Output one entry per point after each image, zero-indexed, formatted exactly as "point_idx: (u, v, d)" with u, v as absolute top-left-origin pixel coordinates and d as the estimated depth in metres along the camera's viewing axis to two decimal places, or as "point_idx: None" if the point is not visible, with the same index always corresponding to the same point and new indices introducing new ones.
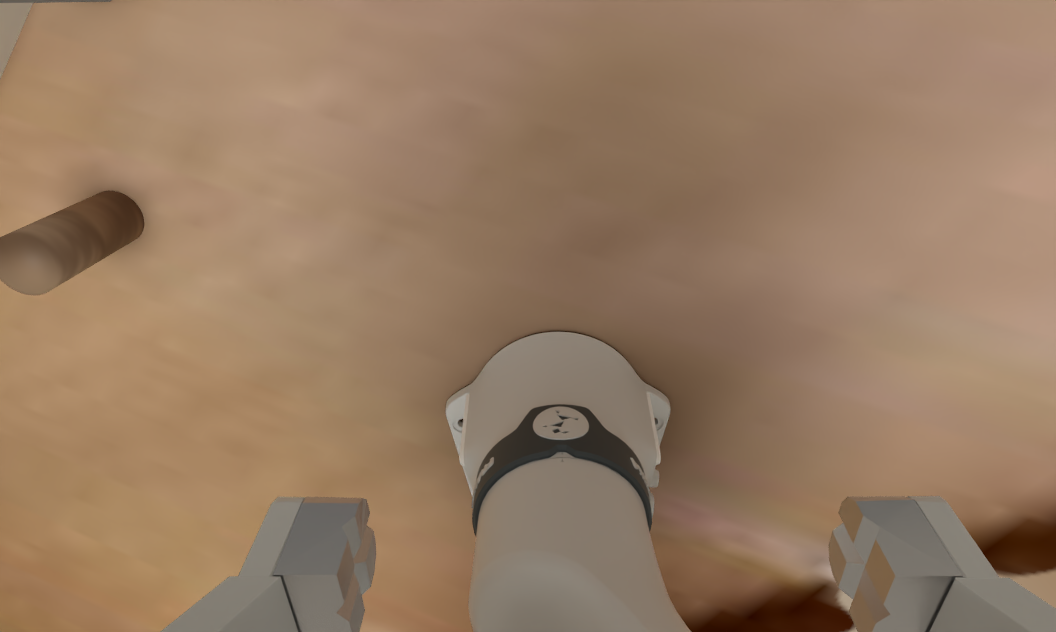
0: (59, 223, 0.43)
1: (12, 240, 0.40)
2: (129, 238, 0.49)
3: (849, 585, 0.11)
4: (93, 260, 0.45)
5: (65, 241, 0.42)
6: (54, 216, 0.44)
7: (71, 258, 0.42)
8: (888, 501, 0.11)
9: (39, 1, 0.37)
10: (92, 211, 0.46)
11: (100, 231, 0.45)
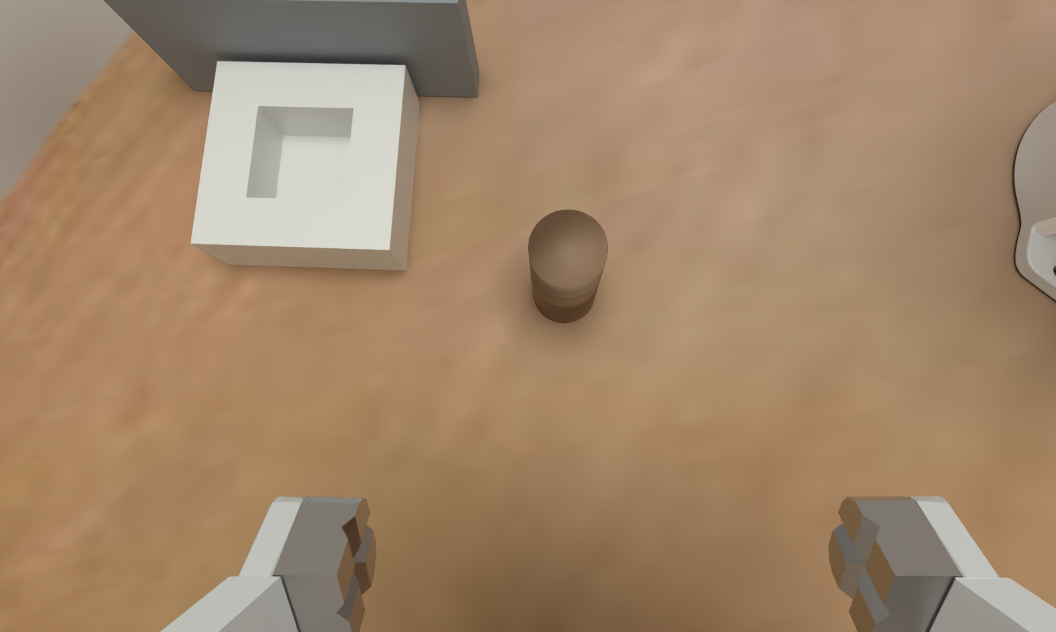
0: None
1: (546, 225, 0.34)
2: None
3: (849, 585, 0.11)
4: None
5: None
6: None
7: None
8: (888, 501, 0.11)
9: (465, 36, 0.39)
10: None
11: None
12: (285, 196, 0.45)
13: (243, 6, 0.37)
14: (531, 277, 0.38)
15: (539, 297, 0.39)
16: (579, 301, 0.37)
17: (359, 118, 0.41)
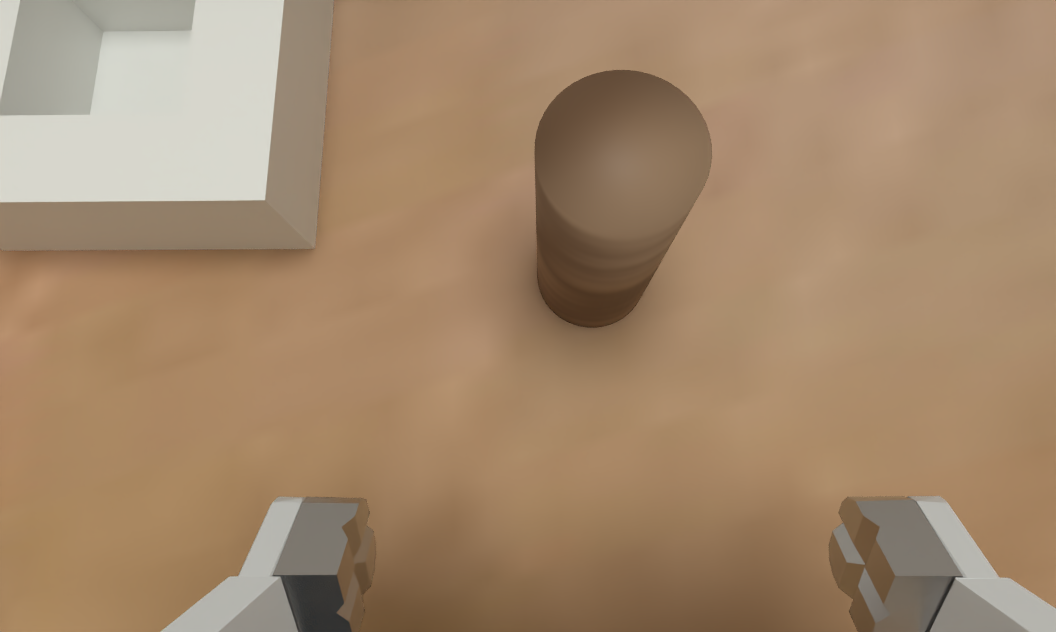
0: None
1: (571, 103, 0.15)
2: None
3: (849, 585, 0.11)
4: None
5: None
6: None
7: None
8: (888, 501, 0.11)
9: None
10: None
11: None
12: None
13: None
14: (538, 237, 0.20)
15: (553, 277, 0.20)
16: (636, 278, 0.19)
17: None
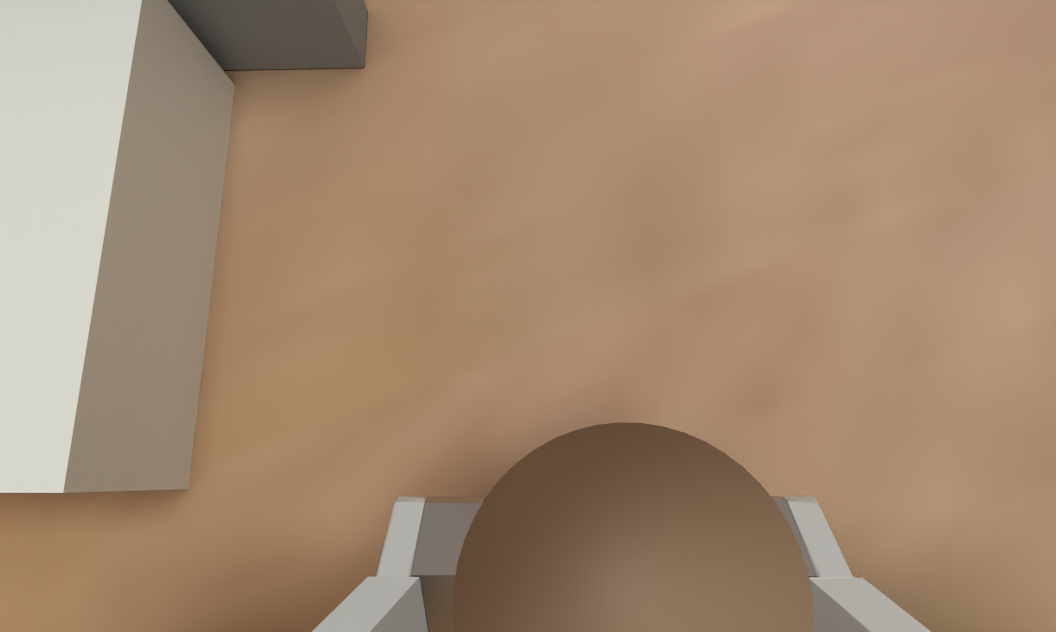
0: None
1: (528, 496, 0.08)
2: None
3: None
4: None
5: None
6: None
7: None
8: None
9: None
10: None
11: None
12: None
13: None
14: None
15: None
16: None
17: (13, 113, 0.15)
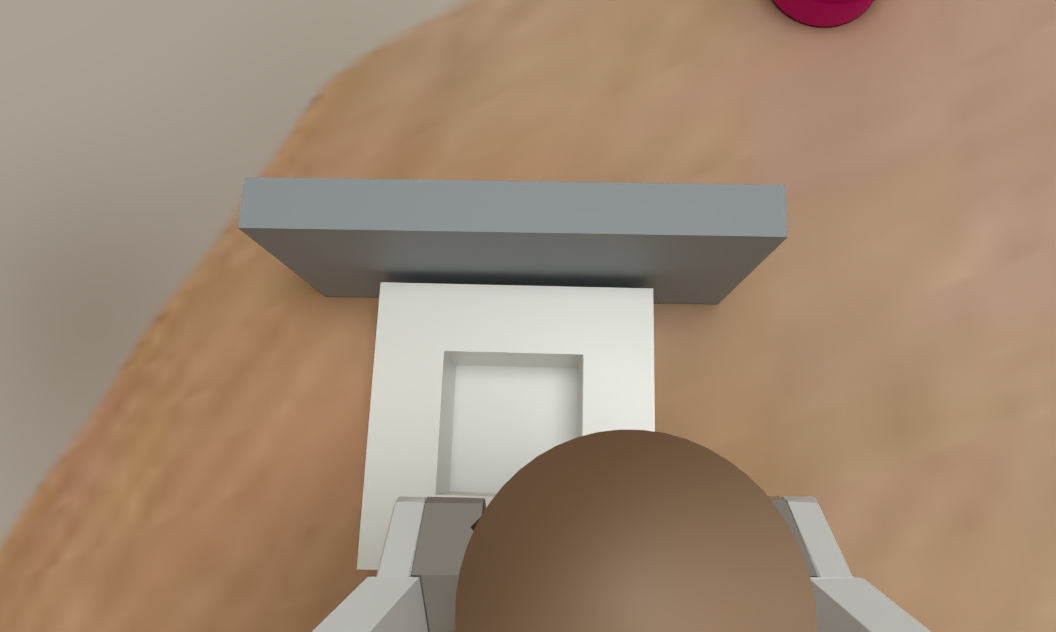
0: None
1: (531, 503, 0.08)
2: None
3: None
4: None
5: None
6: None
7: None
8: None
9: (760, 261, 0.27)
10: None
11: None
12: (464, 456, 0.32)
13: (452, 236, 0.25)
14: None
15: None
16: None
17: (593, 370, 0.28)
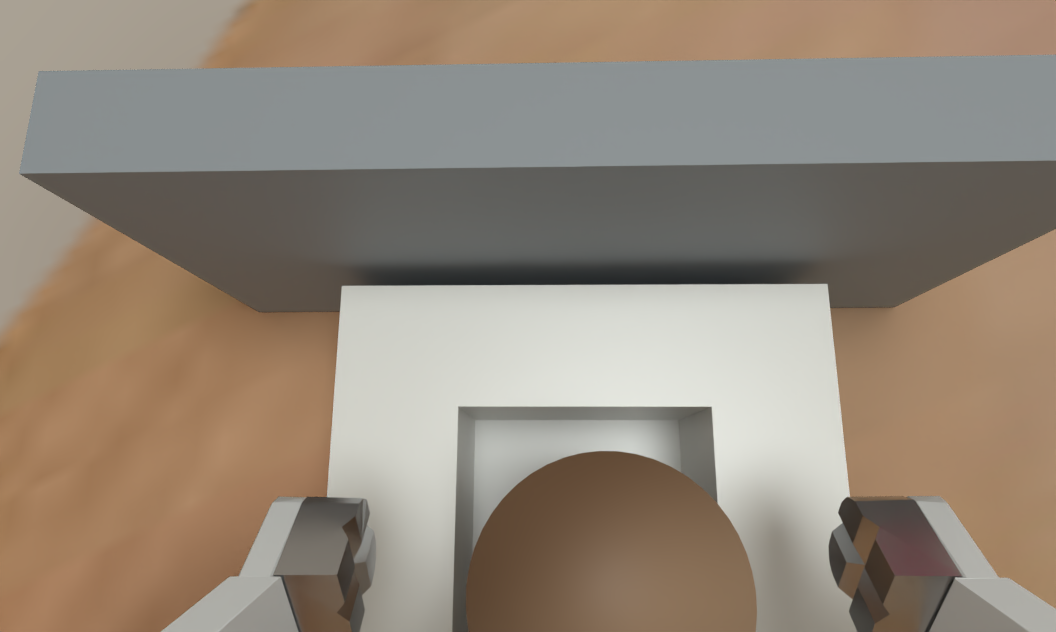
0: None
1: (526, 511, 0.10)
2: None
3: (849, 585, 0.11)
4: None
5: None
6: None
7: None
8: (887, 501, 0.11)
9: None
10: None
11: None
12: None
13: (474, 182, 0.12)
14: None
15: None
16: None
17: (732, 435, 0.16)
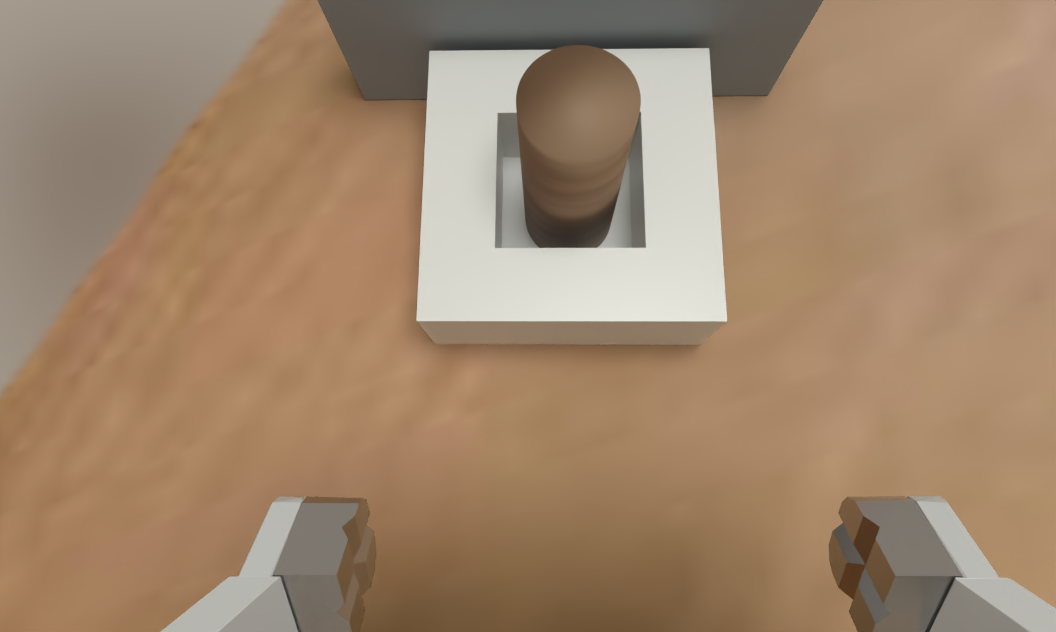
0: None
1: (542, 68, 0.22)
2: None
3: (849, 585, 0.11)
4: None
5: None
6: None
7: None
8: (888, 501, 0.11)
9: None
10: None
11: None
12: (515, 243, 0.31)
13: None
14: (522, 176, 0.26)
15: (535, 209, 0.27)
16: (595, 204, 0.25)
17: (652, 126, 0.28)
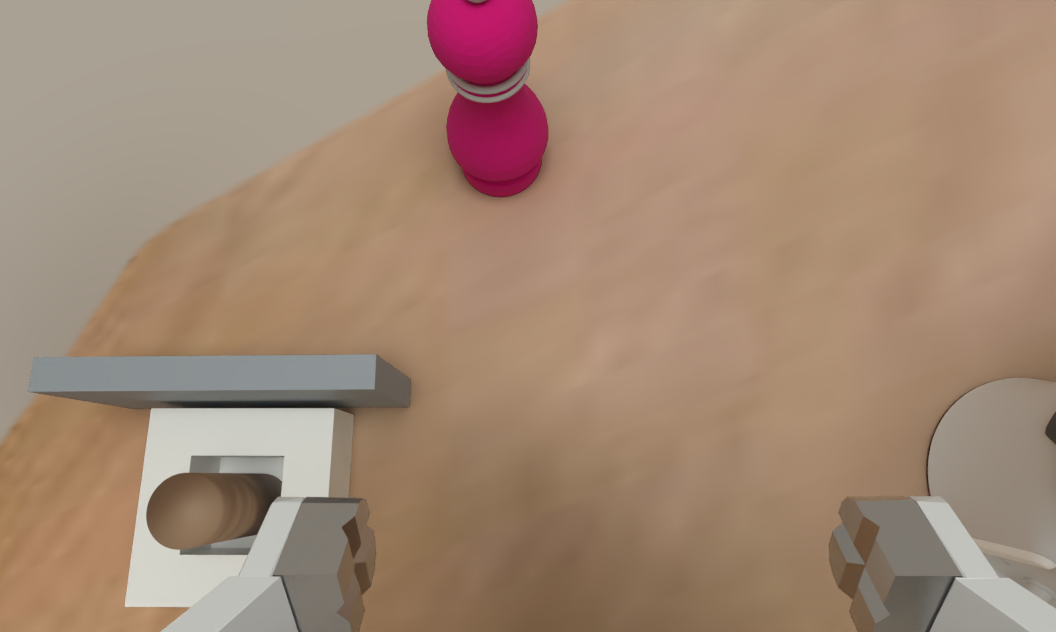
0: None
1: (165, 488, 0.36)
2: None
3: (849, 585, 0.11)
4: (250, 504, 0.40)
5: (216, 475, 0.38)
6: None
7: (227, 487, 0.38)
8: (888, 501, 0.11)
9: (387, 394, 0.41)
10: None
11: (246, 478, 0.41)
12: None
13: (168, 392, 0.39)
14: None
15: None
16: (230, 539, 0.40)
17: (290, 466, 0.42)
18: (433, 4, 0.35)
